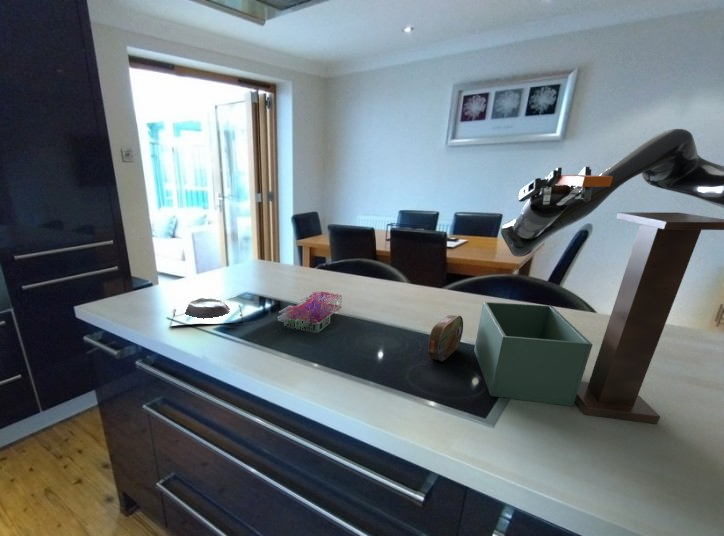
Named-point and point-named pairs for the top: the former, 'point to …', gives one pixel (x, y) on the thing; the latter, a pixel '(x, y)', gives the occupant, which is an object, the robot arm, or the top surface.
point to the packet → (585, 180)
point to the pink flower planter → (311, 310)
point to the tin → (445, 337)
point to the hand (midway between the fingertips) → (573, 171)
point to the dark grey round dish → (207, 308)
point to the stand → (641, 313)
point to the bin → (530, 353)
